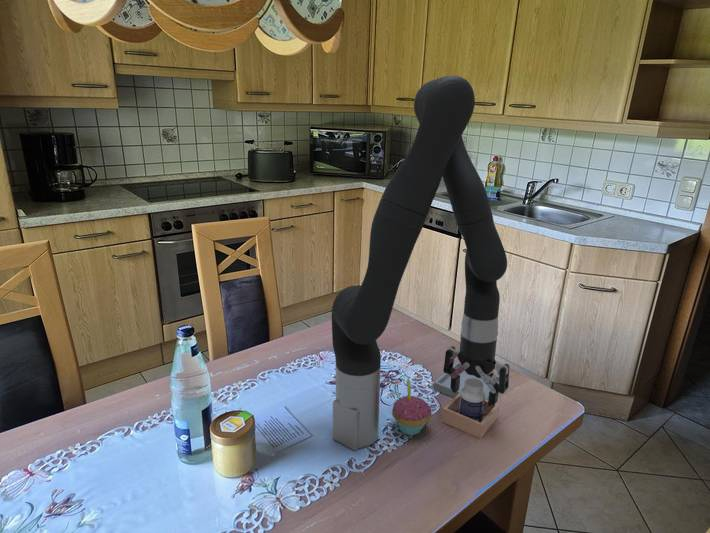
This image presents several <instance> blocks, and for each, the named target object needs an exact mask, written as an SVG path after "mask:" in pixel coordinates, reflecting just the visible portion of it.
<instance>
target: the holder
mask: <svg viewBox="0 0 710 533" xmlns="http://www.w3.org/2000/svg"><path fill="white" fill-rule="evenodd" d="M460 393H461V392H460ZM460 393H459V394H458V395H457V396H456V397H455V398H452V399H451V400H450V402H448V404H447V405H445V406H444V407H443V411H442V423H444V424H447V425H449V426H450V427H454V428H456V430H457V429H458V430H460V431H462V432H464V433H465V434H466V433H467V434H468V435H471V436H473V437H475V438H478V439H480V440H481V439H482V438H483V437H484V436H485V434H486V433H487V432H488V430H489V429H490V428H491V427H492V425H493V424H494V423H495V422H496V421H497V419H498V416H499V409H500V405H499V404H498V403H496V404H495V405H493V406H492V407H490V406H488V400H485V403H484V412H483V415H485V417H483V420H482V422H481V423H480V422H478V421H476V420H473V419H471V418H469V417H466V416H464V415H461V414H459V412H457V411H459V403H460Z"/></svg>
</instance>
